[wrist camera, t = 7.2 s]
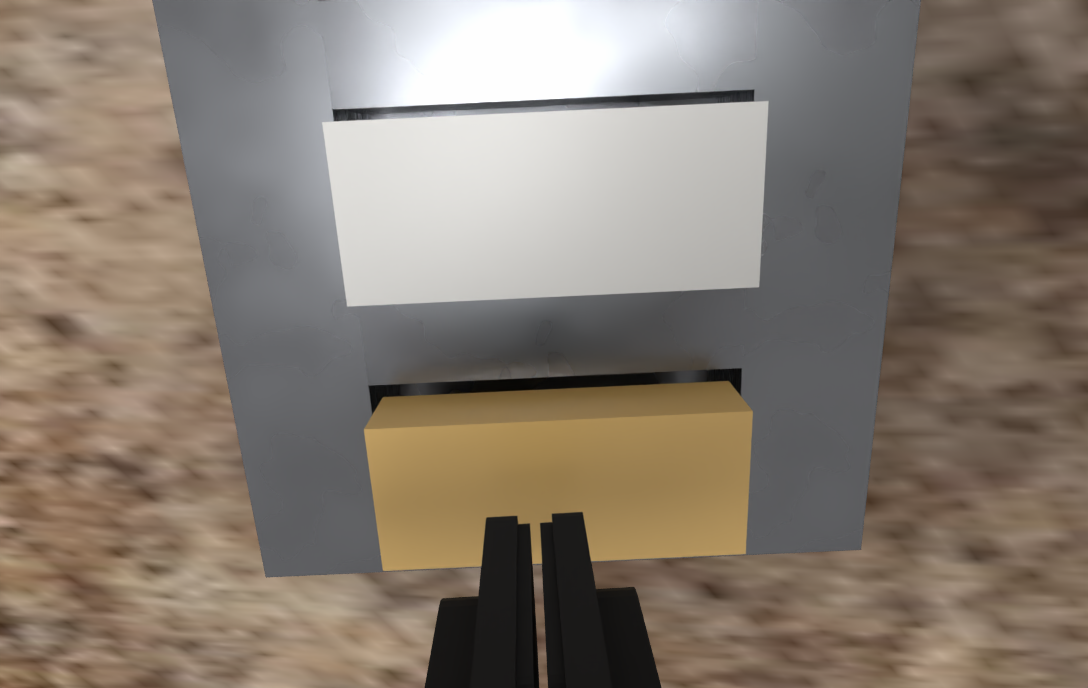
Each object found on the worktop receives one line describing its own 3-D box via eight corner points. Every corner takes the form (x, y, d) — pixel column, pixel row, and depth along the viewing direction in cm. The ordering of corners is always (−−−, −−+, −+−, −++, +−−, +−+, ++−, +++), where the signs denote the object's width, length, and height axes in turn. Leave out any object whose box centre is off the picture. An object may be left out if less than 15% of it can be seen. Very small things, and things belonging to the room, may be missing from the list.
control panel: (853, -230, 15) (959, -353, 12) (800, 473, 21) (860, 549, 17) (201, -199, 15) (91, -311, 12) (316, 496, 21) (266, 577, 17)
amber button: (728, 380, 15) (752, 411, 14) (723, 510, 16) (746, 554, 15) (382, 397, 15) (363, 429, 14) (398, 525, 16) (382, 571, 15)
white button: (739, 105, 14) (768, 100, 12) (733, 269, 15) (759, 287, 13) (348, 124, 14) (321, 122, 12) (369, 286, 15) (347, 306, 13)
